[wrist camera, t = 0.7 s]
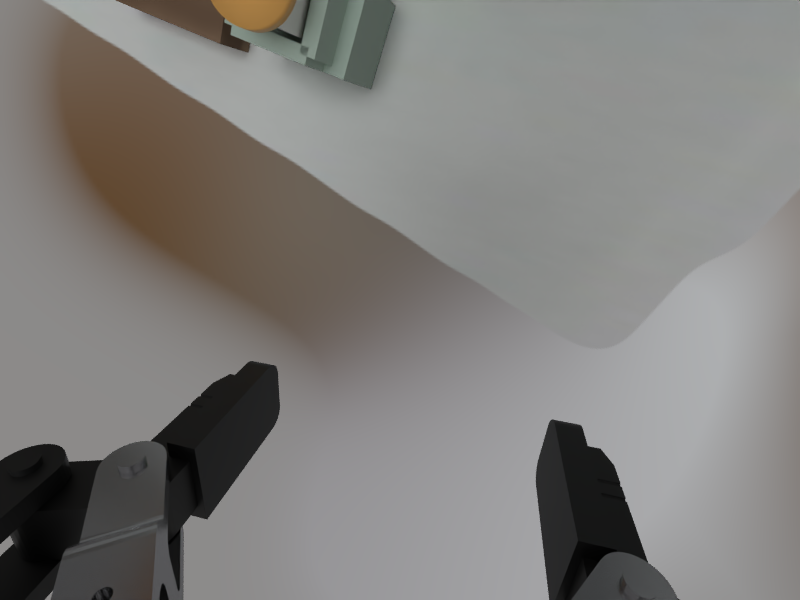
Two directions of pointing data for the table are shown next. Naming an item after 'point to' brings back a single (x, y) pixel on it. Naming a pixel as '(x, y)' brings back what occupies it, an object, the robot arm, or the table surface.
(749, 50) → the table surface
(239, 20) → the button
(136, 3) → the rail bed
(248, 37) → the cabinet
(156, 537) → the robot arm
